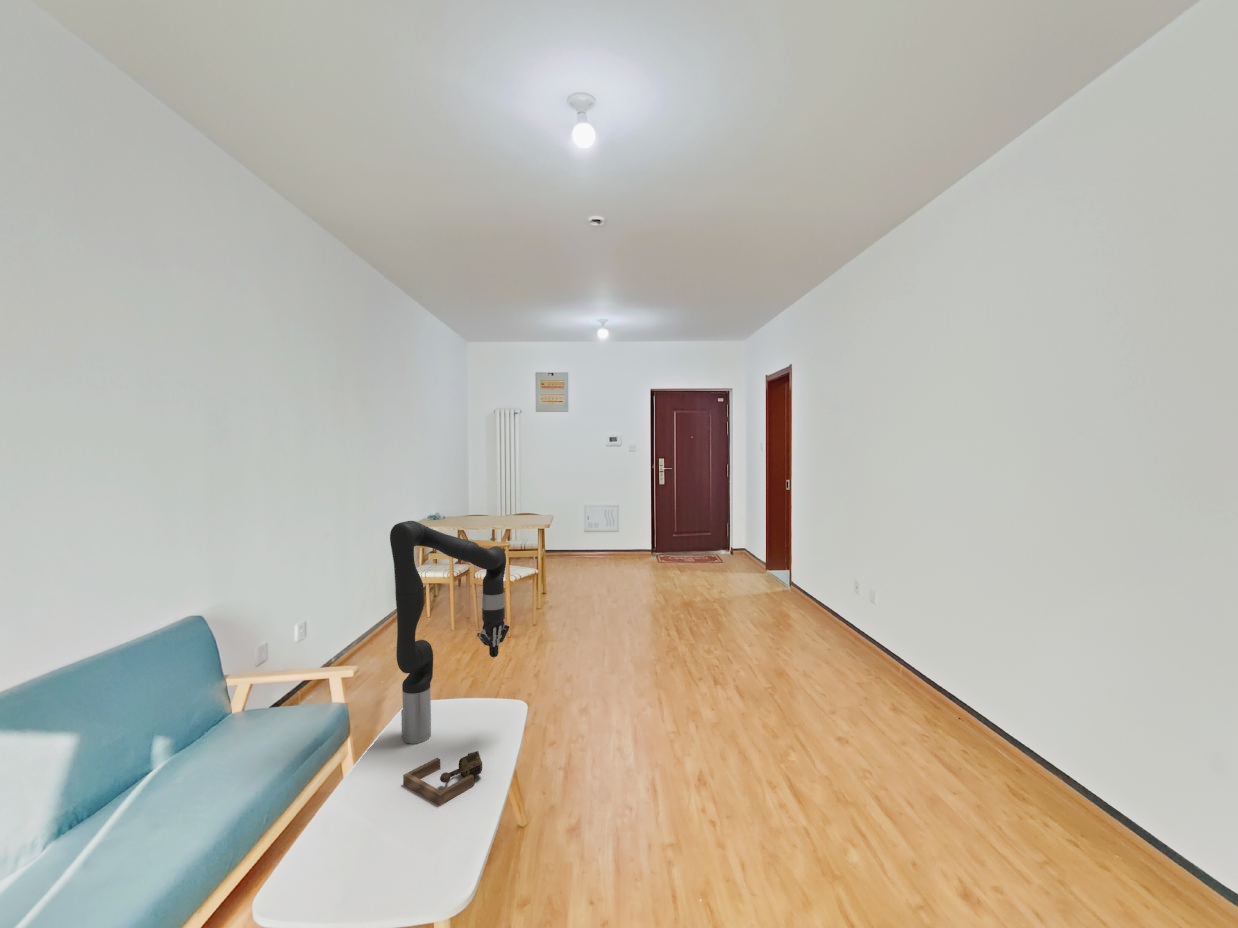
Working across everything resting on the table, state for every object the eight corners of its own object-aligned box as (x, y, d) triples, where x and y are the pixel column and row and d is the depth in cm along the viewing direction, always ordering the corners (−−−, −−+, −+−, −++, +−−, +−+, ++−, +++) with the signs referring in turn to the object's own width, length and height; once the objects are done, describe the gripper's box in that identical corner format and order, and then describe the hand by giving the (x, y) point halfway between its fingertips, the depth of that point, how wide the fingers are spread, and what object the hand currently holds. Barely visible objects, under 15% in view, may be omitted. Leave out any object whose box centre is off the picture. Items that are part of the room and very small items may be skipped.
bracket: (403, 784, 174) (403, 774, 174) (437, 766, 183) (437, 757, 183) (440, 805, 163) (439, 794, 163) (474, 785, 173) (473, 775, 173)
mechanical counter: (468, 775, 183) (493, 764, 180) (445, 801, 170) (471, 789, 168) (457, 754, 183) (481, 743, 180) (434, 778, 171) (459, 766, 168)
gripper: (500, 600, 206) (501, 648, 207) (470, 608, 196) (471, 659, 196) (515, 603, 202) (515, 653, 202) (485, 612, 191) (486, 664, 192)
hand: (493, 656), depth 199 cm, fingers closed
